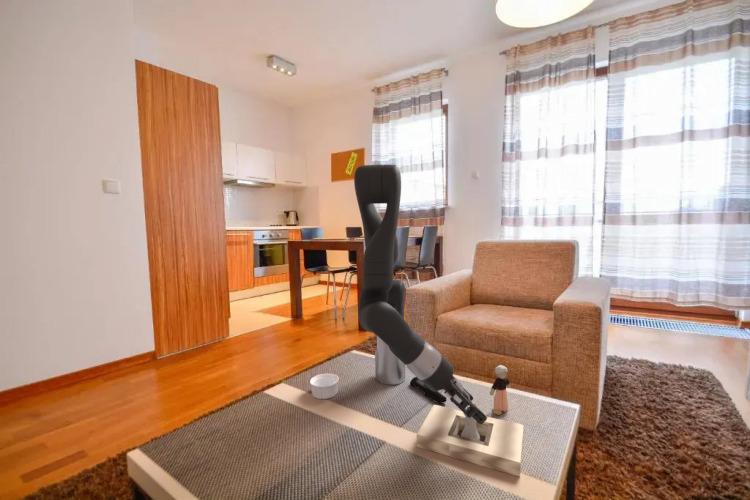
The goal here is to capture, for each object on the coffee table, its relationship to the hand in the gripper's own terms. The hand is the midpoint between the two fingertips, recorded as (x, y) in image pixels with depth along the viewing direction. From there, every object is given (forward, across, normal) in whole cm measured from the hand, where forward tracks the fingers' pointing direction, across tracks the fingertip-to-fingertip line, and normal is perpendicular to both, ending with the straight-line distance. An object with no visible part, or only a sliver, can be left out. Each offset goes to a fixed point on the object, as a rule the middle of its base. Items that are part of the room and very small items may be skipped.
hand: (476, 410), depth 79 cm
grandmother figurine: (+14, +12, -3) cm, 19 cm away
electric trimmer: (+1, +23, +10) cm, 26 cm away
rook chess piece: (+4, 0, +7) cm, 8 cm away
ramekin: (-21, +27, +32) cm, 47 cm away
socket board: (+4, 0, +6) cm, 8 cm away
